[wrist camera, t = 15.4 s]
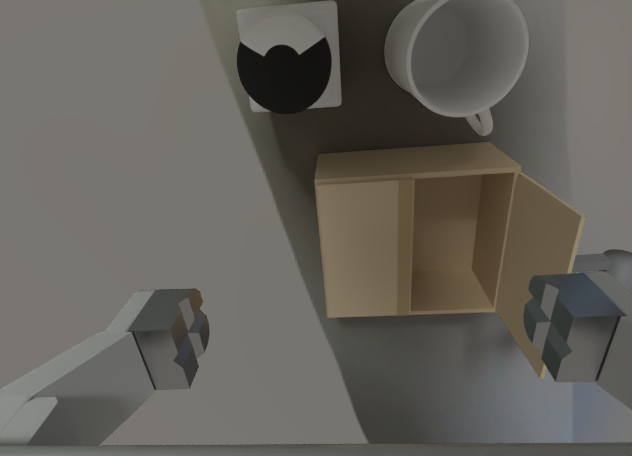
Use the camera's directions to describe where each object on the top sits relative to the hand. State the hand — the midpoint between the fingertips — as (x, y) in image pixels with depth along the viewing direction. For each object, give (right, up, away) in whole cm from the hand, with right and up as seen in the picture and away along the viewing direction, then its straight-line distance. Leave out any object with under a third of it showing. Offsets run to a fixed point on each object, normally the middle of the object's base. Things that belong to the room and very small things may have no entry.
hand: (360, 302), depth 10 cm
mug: (+10, +18, +28) cm, 35 cm away
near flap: (+17, -2, +23) cm, 29 cm away
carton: (+9, +3, +35) cm, 36 cm away
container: (-3, +19, +28) cm, 34 cm away
